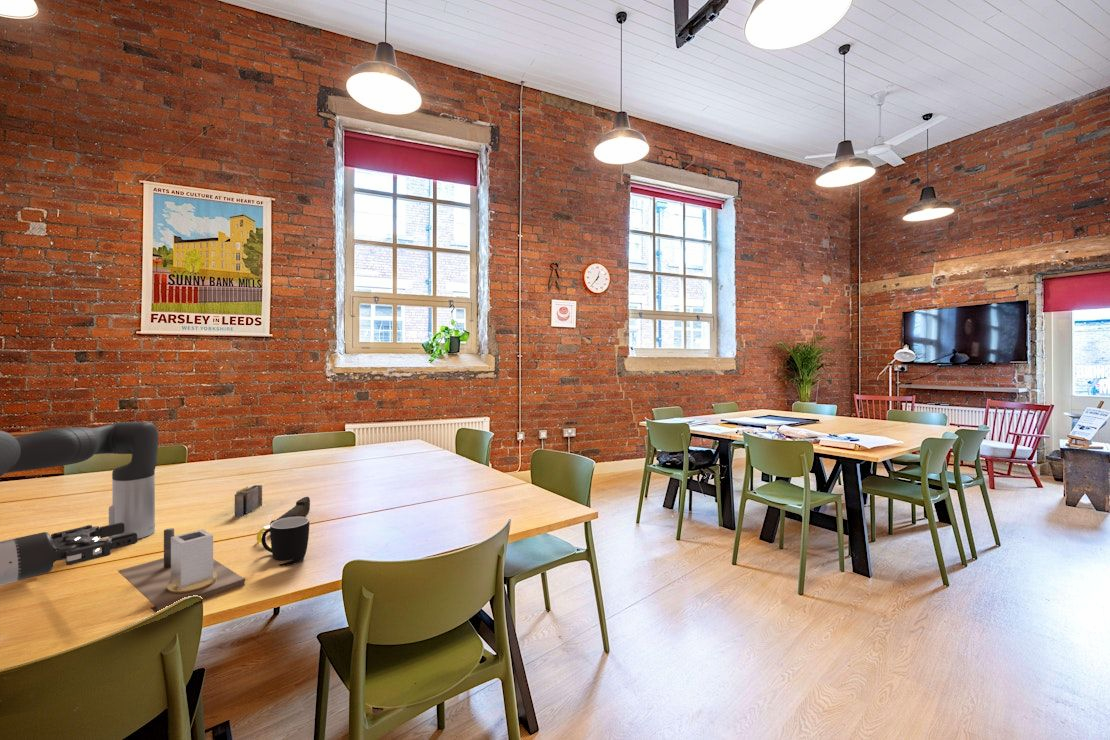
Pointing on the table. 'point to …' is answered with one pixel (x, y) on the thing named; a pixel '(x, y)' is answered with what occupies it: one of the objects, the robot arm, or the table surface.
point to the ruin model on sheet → (248, 499)
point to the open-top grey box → (191, 558)
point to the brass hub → (176, 590)
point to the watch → (261, 532)
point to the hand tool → (298, 509)
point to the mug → (288, 539)
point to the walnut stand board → (158, 574)
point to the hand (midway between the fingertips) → (130, 532)
